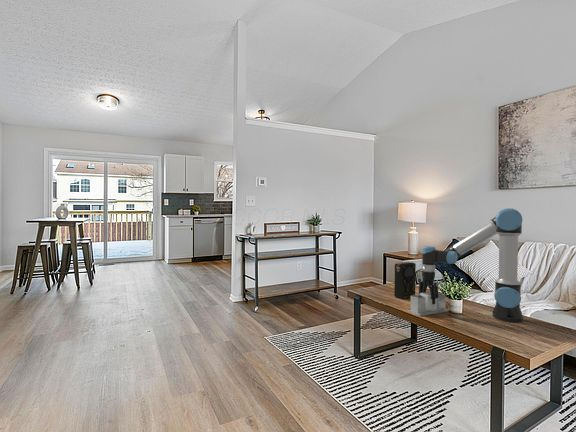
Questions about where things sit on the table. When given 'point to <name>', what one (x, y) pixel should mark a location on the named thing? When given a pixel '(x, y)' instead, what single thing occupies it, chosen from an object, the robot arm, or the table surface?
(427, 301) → the module
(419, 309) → the grey stepped block
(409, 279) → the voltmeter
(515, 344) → the table surface
